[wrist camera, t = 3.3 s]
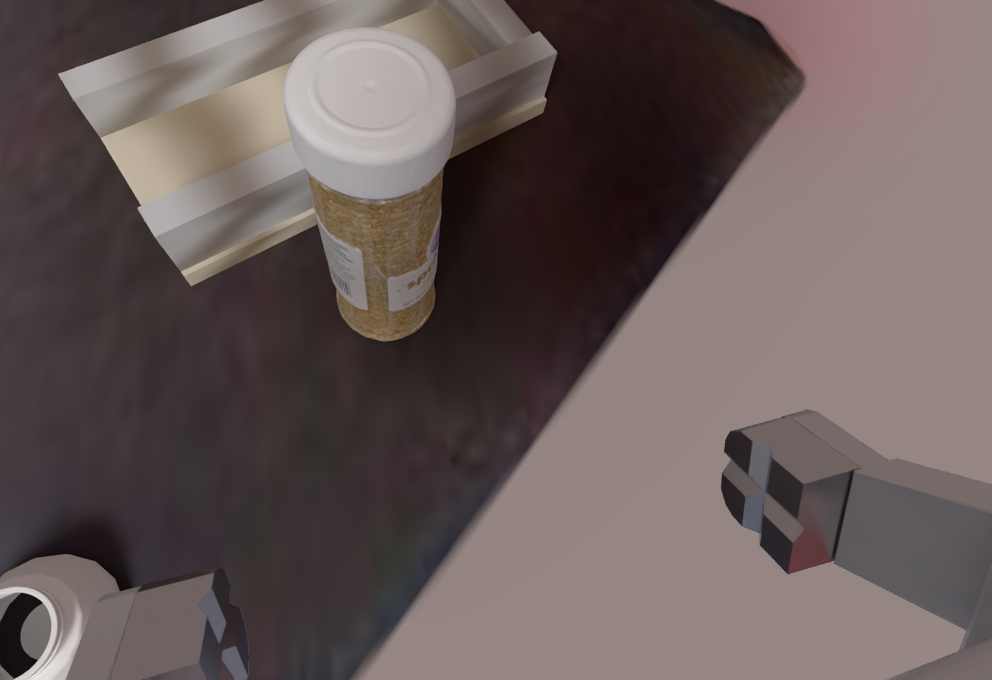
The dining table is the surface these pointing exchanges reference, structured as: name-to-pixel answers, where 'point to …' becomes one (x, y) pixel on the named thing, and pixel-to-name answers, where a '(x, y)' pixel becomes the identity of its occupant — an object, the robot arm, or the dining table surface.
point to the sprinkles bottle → (374, 169)
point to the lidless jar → (54, 609)
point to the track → (278, 112)
